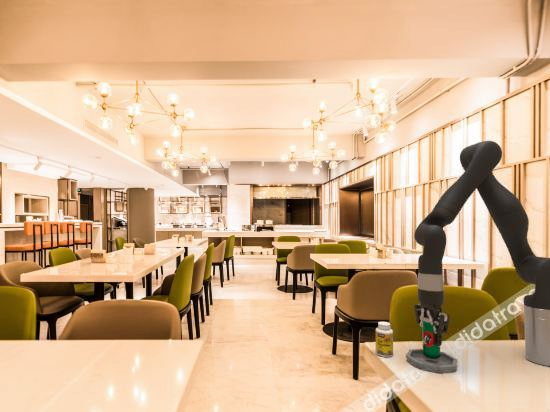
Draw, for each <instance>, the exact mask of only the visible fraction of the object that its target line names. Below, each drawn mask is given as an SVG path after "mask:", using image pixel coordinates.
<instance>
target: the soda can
mask: <svg viewBox="0 0 550 412" xmlns="http://www.w3.org/2000/svg"><path fill="white" fill-rule="evenodd" d="M434 322H435V323H438V322H439V321H434ZM436 327H437V329H438V325H436ZM421 339H422V349H423V355H424V356H425V357H427V358H430V359H439V358H440V356H441V354H440V351H441V346H435V345H434V331H433V326H431V324H430V320H429V318H427V317H423V320H422V329H421Z"/></svg>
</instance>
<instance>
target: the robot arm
mask: <svg viewBox="0 0 550 412" xmlns="http://www.w3.org/2000/svg"><path fill="white" fill-rule="evenodd" d="M502 156H503V151H502V148H501V146H500V145H499V143H497V142H496V141H493V140H484V141H479V142H477V143H474V144H471V145H468V146H466V147H463V149H462V150H461V152H460V154H459V162H460V164H461V167H462V169H463V170H464V172H462V174H461V176H460V177H459V178H458V179H456V181H454V183H452V184H451V185H450V186H449V187H448V188H447V189H446V190H445V192H443V193H442V194H441V196H440V198H439V199H438V201H437V202H436V204H435V206H433V209H432V210H431V212H430V213H429V214H427V215H426V217H424V219H423V220H422V221H421V222H420V223H419V224H418V226H417V227H416V229H415V231H414V234H413V235H414V240H415V242H416V243H417V244H418V245H419V246H422V247H423V252H422V254H420V255H419V257H418V259H417V260H418V261H417V262H418V263H417V264H418V265H417V272H418V273H417V301H418V302H419V303H418V304H414V306H413V307H414V312H415V319H416V320H415V321H416V324H418V325H419V326H420V327H421V330H422V320H423V317H427V318H429V320H430V324H431V326H433V331H434V345H435V346H440V347H441V346H442V343H443V334H447V333H448V330H449V323H450V317H451V316H450V314H448V313H444V312H443V309H442V305H444V304H445V287H444V286H445V285H444V284H445V283H444V276H443V258H444V255H445V252H446V247H447V235H446V231H445V229H444V228H445V226H446V227H447V226H449V225H451V224H452V223H453V222H454V221H455V219H456V218H457V216H458V215H459V213H460V211H461V210H463V207H464V205H465V204H466V203H467V202H468V200H469V199H470V197H471V196H472V194H473V193H474V192H475V191H476V190H477V192H478V194H479V195H480V198H481V199H482V201H483V203H484V205H485V207H486V209H487V211H488V213H489V216H490V217H491V219H492V221H493V223H494V225H495V226H496V228H497V230H498V232H499V234H500V236H501V238H502V241H503V242H504V244H505V246H506V248H507V251H508V253H509V255H510V259H511V261H512V265H513V267H514V269H515V271H516V274H517V275H518V277H519V278H520V279H521V280H522V281H523V282H525V283H528V284H531V285H534V292H533V293H531V294H527V295H526V294H525V295H524V296H523V313H524V315H523V316H524V318H523V319H524V321H523V322H524V349H525V350H524V352H525V353H524V354H525V358H526V359H527V360H528V361H530V362H531V363H534V364H538V365H541V366H547V367H550V257H543V256H537V255H536V254H535V253H534V252H533V250H532V248H531V246H530V244H529V243H530V242H529V241H528V234H529V225H530V224H529V223H530V222H529V221H530V220H529V216H528V214H527V212H526V210H525V208H524V206H523V205H522V202H521V200H520V199H519V198H518V197H517V196H516V195H515V194H514V193H513V192H512V191H510V190H509V189H508V188H507V187H506V186H504V185H503V184H502V183H501V182H500V181H498V179H497V178H496V177H495V174H494V173H493V170H494V169H495V168H496V167H497V166H498V165H499V164H500V162H501V160H502ZM434 321H439V322H438V323H435V322H434ZM436 325H438V329H437V327H436Z"/></svg>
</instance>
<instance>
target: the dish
mask: <svg viewBox="0 0 550 412" xmlns="http://www.w3.org/2000/svg"><path fill="white" fill-rule="evenodd" d="M440 354H441V356H440V358H439V359H430V358H427V357H425V356H424V355H423V348H414V349H412V348H411V349H409V350H408V352H406V354H405V358H406V359H407V362H408V363H409V365H411V366H413V367H414V368H417V369H419V370H422V369H423V370H422V371H425V370H426V372H429V373H436V374H449V373H454V372H456V371H457V370H458V360H459V359H458V358H456V357H454V356H452V355H450V354H448V353H447V352H445V351H441V350H440Z"/></svg>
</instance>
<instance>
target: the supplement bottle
mask: <svg viewBox="0 0 550 412" xmlns="http://www.w3.org/2000/svg"><path fill="white" fill-rule="evenodd" d="M377 323H378V324H377V325H378V326H377V327H376V328H375V353H376V355H378V356H380V357H383V358H390V357H392V356H393V355H394V330H393V329H391V323H390V322H387V321H378V322H377Z"/></svg>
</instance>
